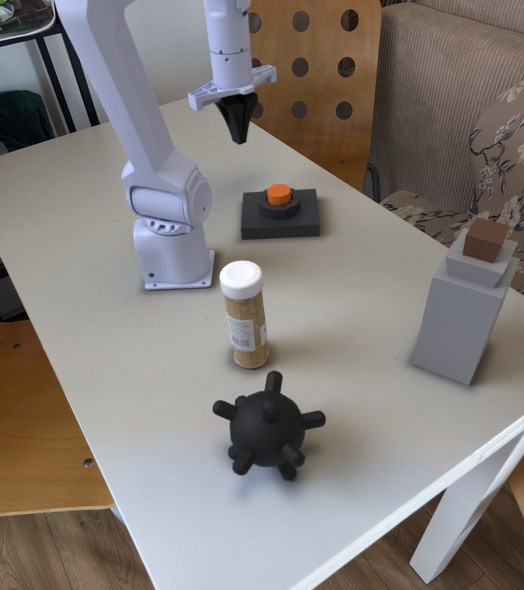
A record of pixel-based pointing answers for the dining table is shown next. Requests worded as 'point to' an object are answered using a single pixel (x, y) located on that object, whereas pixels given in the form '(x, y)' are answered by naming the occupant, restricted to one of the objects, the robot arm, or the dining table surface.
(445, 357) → the perfume bottle
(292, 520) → the dining table surface
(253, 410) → the toy ball
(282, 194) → the button
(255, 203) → the control block
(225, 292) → the spice jar
